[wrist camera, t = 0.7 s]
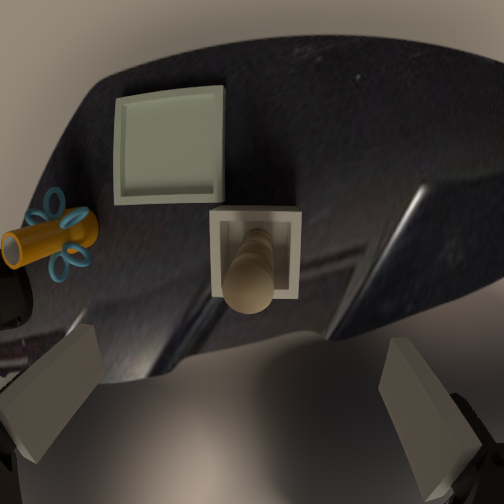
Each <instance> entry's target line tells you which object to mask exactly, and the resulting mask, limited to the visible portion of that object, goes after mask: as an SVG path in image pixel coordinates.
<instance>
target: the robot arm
mask: <svg viewBox="0 0 504 504" xmlns="http://www.w3.org/2000/svg"><path fill="white" fill-rule="evenodd" d="M32 308H33V301H32V293H31V288H30V285H29V282H28V279H27V276H26V274H25V272H24V270H23V268H22V267H20V268H17V269H12V268H10V267H9V266H8V265H7V264H6V262H5V260H4V258H3V255H2V251H1V249H0V331H1V330H7V329H13V328H18V327H20V326H21V325H23V324H24V323H26V322H27V321H28V320H29V319H30V317H31V314H32ZM105 374H106V373H105V370H104V366H103V362H102V359H101V355H100V351H99V347H98V343H97V339H96V335H95V331H94V326H92V325H86V324H80V325H79V326H77V327H76V328H75V329H74V330H73V331H71V332H70V333H69V334H68V335H67V336H65V337H64V338H63V339H62V340H61V341H59V342H58V343H57V344H56V345H55V346H54V347H52V348H51V349H50V350H49V351H48V352H47V353H45V354H44V355H43V356H42V357H41V358H40V359H39V360H37V361H36V362H35V363H34V364H33V365H32V366H31V367H29V368H28V369H26V370H24V371H22V372H20V373H19V374H17V375H16V376H15V377H14V378H13V379H12V381H10V382H9V383H7V384H6V386H4V387H3V388H2V389H1V390H0V504H22V498H21V493H20V486H19V477H18V468H17V458H16V454H15V452H14V451H13V450H14V449H15V448H16V447H17V448H18V449H19V451H20V452H21V454H22V455H23V457H25V458H27V459H29V460H30V461H32V462H34V463H36V464H37V463H38V462H39V460H40V459H41V457H42V456H43V455H44V453H45V452H46V451H47V449H48V448H49V447H50V445H51V444H52V442H53V441H54V440H55V439H56V437H57V436H58V434H59V433H60V432H61V430H62V429H63V428H64V427H65V425H66V424H67V423H68V421H69V420H70V419H71V417H72V416H73V415H74V413H75V412H76V411H77V410H78V408H79V407H80V406H81V404H82V403H83V402H84V401H85V399H86V398H87V397H88V395H89V394H90V393H91V391H92V390H93V389H94V388H95V386H96V385H97V384H98V383H99V382H100V380H101V379H102V378H103V377H104V375H105ZM378 389H379V391H380V394H381V395H382V398H383V400H384V402H385V405H386V407H387V409H388V412H389V414H390V416H391V419H392V421H393V423H394V426H395V428H396V431H397V433H398V435H399V438H400V440H401V443H402V445H403V448H404V450H405V453H406V455H407V457H408V460H409V463H410V465H411V468H412V470H413V473H414V476H415V478H416V481H417V484H418V486H419V489H420V492H421V495H422V497H423V500H424V502H426V501H429V500H432V499H435V498H438V497H441V496H443V495H444V494H445V493H446V492H447V491H448V490H449V488H450V487H452V489H453V491H454V494H453V495H452V496H451V497H450V498H449V499H448V500H447V501H446V502H445V503H444V504H504V443H496V442H495V441H494V439H493V438H492V436H491V435H490V433H489V432H488V430H487V429H486V427H485V426H484V425H483V423H482V421H481V420H480V419H479V418H477V414H476V413H475V412H474V410H473V411H472V407H471V406H470V405H469V403H468V402H467V400H466V399H464V398H463V397H461V396H460V395H459V394H457V393H453V394H448V392H447V391H446V390H445V388H444V387H443V385H442V384H441V382H440V381H439V380H438V378H437V377H436V376H435V374H434V373H433V372H432V370H431V369H430V367H429V366H428V365H427V363H426V362H425V361H424V359H423V358H422V357H421V355H420V354H419V353H418V351H417V350H416V349H415V347H414V346H413V345H412V343H411V342H410V341H409V339H408V338H407V337H401V338H392V339H391V341H390V346H389V350H388V354H387V358H386V362H385V366H384V370H383V373H382V377H381V381H380V384H379V388H378Z"/></svg>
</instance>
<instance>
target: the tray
mask: <svg viewBox="0 0 504 504" xmlns="http://www.w3.org/2000/svg"><path fill="white" fill-rule="evenodd" d="M225 115H226V90H225V88H224V86H223V85H218V86H203V87H192V88H182V89H173V90H165V91H158V92H151V93H145V94H139V95H133V96H128V97H122V98H117V99H116V107H115V123H114V158H113V173H114V205H131V204H158V203H207V202H224V201H225Z"/></svg>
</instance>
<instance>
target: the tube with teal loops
mask: <svg viewBox="0 0 504 504" xmlns="http://www.w3.org/2000/svg"><path fill="white" fill-rule="evenodd" d="M53 193H57V194H58V196H59V199H60V207H59V211H58V212H57V214H55V215H53V214H52V213H51V212H50V209H49V200H50V197H51V195H52V194H53ZM43 208H44V211H42V210H39V209H29V210H27V211H26V212H25V220H26V221H27V223H28V224H30V225H31V226H28V227H24V228H20V229H17V230H13V231H9V232H7V233H5V234H4V236H3V237H2V241H1V251H2V255H3V258H4V260H5V262H6V264H7V265H8V266H9V267H10V268H12V269H17V268H20V267H22V266H24V265H27V264H29V263H31V262H34V261H36V260H38V259H41V258H43V257H46V256H48V255H51V254H52V255H51V257H50V260H49V273H50V276H51V278H52V279H53V280H54V281H55V282H62V281H64V280H65V279H66V277H67V275H68V273H69V267H70V263H71V264H73V265H75V266H79V267H85V266H88V265H89V264H90V263H91V260H92V258H91V255H90V253H89V251H88V250H87V249H86V248H87V247H89V246H91V245H92V244H93V243H94V242H95V241H96V239H97V237H98V233H99V224H98V220H97V218H96V216H95V214H94V213H93V212H92V211H91V210H90V209H89V208H87V207H75V208H70V209H65V196H64V193H63V191H62V190H61V189H60V188H58V187H52V188H50V189H49V190H48V191H47V192H46V194H45V197H44V201H43ZM31 214H35V215H39V216H41V217H43V218H44V219H45V220H46V222H43V223H38V222H36V221H34V220H33V219H32V218H31V217H30V215H31ZM78 251H80V252H81V253H82V254H83V255H84V256H85V257H86V260H77V259H75V258H73V257H72V256H70V255H69V254H72V253H75V252H78ZM59 255H61V256H62V257H63V259H64V271H63V273H62V275H61V276H57V275H56V274H55V271H54V263H55V260H56V258H57V257H58V256H59Z"/></svg>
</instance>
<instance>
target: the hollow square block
mask: <svg viewBox="0 0 504 504" xmlns="http://www.w3.org/2000/svg"><path fill="white" fill-rule="evenodd" d="M301 218H302V212H301V211H300V210H299V209H298V208H297V207H296V206H268V205H221V206H218V207H216V208H214V209H212V210H210V253H211V282H212V297H223V293H222V285H223V281H224V279H225V276H226V274H227V272H228V270H229V268H230V266H231V264H232V262H233V259H234V257H235V255H236V253H237V251H238V249H239V247H240V245H241V242H242V240H243V238H244V236H245V235H246V233H247V232H248V231H250V230H252V229H255V228H260V229H263V230H265V231H267V232H268V233H269V234H270V235H271V237H272V241H273V272H274V295H273V298H275V299H298V288H299V269H300V247H301Z"/></svg>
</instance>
